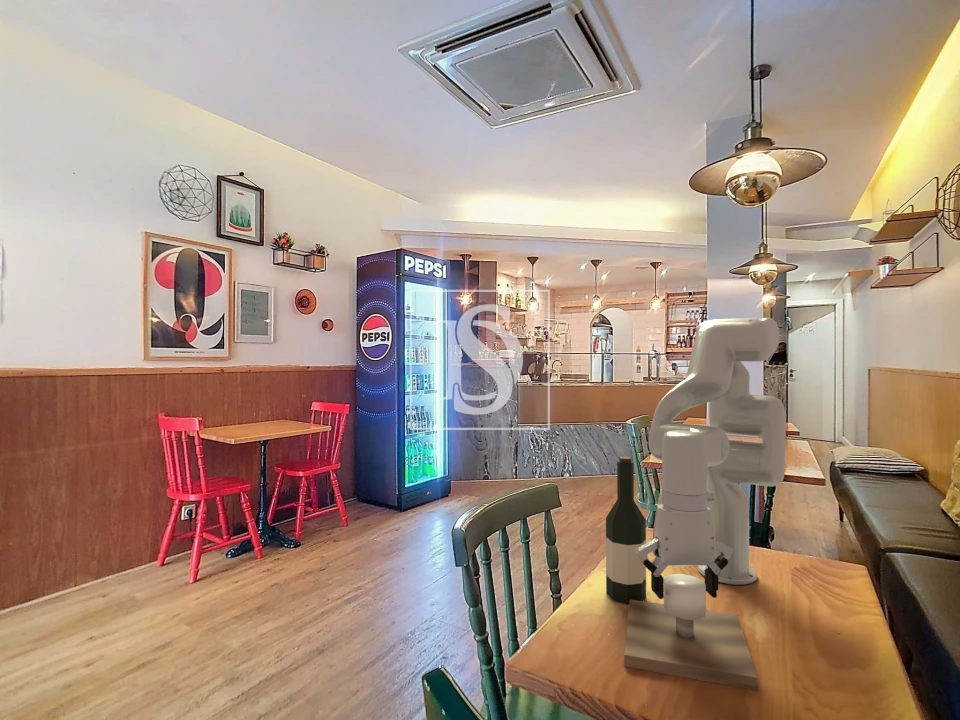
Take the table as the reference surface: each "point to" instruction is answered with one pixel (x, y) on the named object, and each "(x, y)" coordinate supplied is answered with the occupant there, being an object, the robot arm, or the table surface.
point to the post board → (688, 645)
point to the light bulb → (685, 596)
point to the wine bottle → (625, 540)
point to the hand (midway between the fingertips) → (684, 594)
